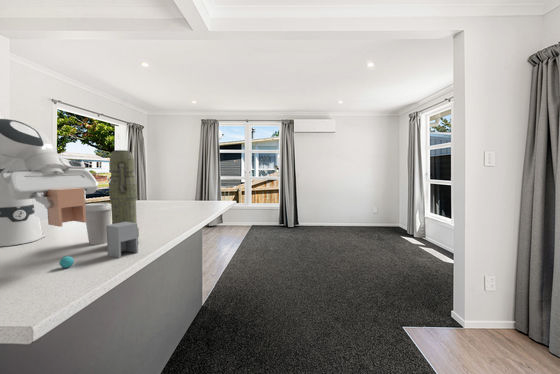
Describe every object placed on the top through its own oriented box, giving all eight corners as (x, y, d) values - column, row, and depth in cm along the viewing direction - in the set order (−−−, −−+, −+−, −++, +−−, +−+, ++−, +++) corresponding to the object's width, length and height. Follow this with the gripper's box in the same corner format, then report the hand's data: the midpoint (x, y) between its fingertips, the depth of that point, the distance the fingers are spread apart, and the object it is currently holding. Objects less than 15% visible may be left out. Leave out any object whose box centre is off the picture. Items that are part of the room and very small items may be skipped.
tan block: (48, 224, 74) (45, 189, 73) (74, 220, 80) (72, 187, 79) (59, 226, 71) (57, 189, 70) (86, 222, 77) (84, 188, 76)
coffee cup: (99, 246, 96) (97, 205, 95) (77, 245, 98) (75, 205, 97) (119, 239, 105) (118, 202, 104) (99, 238, 107) (98, 202, 106)
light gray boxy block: (107, 255, 87) (106, 225, 86) (126, 249, 92) (125, 221, 91) (119, 258, 83) (117, 227, 83) (138, 252, 89) (137, 223, 88)
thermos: (136, 239, 106) (133, 152, 104) (141, 246, 96) (137, 150, 94) (110, 243, 101) (106, 151, 98) (112, 250, 91) (108, 149, 89)
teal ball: (57, 268, 75) (56, 257, 75) (70, 264, 78) (70, 254, 78) (63, 270, 73) (62, 259, 73) (76, 266, 76) (75, 255, 76)
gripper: (2, 162, 68) (21, 202, 64) (89, 163, 86) (108, 194, 82) (-3, 179, 70) (15, 218, 67) (82, 176, 89) (101, 207, 85)
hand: (67, 204), depth 75 cm, fingers closed on tan block, 6 cm apart
